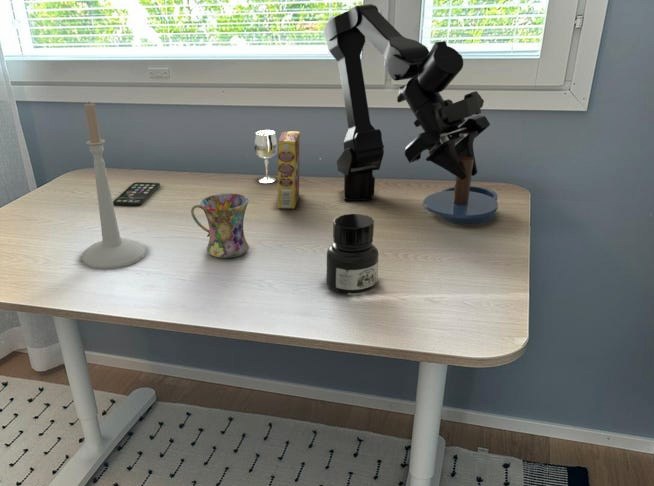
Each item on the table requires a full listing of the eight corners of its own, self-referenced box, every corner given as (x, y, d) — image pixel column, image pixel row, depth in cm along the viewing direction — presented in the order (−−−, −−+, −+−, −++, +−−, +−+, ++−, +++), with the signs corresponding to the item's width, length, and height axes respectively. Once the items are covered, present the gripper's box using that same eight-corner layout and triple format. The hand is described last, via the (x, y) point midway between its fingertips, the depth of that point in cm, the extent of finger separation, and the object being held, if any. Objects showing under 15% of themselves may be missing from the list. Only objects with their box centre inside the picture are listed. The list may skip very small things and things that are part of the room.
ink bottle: (340, 301, 117) (342, 235, 111) (315, 281, 124) (315, 218, 118) (388, 288, 120) (392, 223, 114) (361, 269, 127) (364, 207, 121)
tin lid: (428, 222, 127) (433, 170, 122) (418, 196, 139) (423, 148, 134) (504, 220, 126) (513, 168, 121) (488, 195, 138) (495, 146, 132)
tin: (443, 227, 142) (445, 204, 139) (434, 208, 152) (436, 186, 149) (499, 226, 141) (503, 203, 138) (487, 207, 151) (490, 184, 148)
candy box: (296, 209, 156) (295, 141, 148) (277, 209, 157) (275, 141, 149) (300, 196, 163) (300, 130, 155) (282, 196, 164) (281, 131, 156)
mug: (257, 245, 139) (255, 195, 134) (240, 264, 132) (237, 211, 127) (204, 239, 144) (200, 190, 138) (185, 257, 136) (179, 206, 131)
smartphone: (111, 202, 165) (134, 182, 177) (112, 205, 165) (134, 184, 177) (140, 203, 163) (161, 182, 175) (140, 206, 164) (161, 185, 176)
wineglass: (279, 176, 177) (277, 129, 171) (277, 183, 172) (276, 135, 166) (256, 177, 178) (254, 130, 171) (255, 184, 173) (252, 136, 167)
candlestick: (147, 264, 135) (125, 105, 119) (81, 272, 133) (50, 112, 117) (144, 240, 145) (123, 91, 129) (83, 247, 144) (55, 97, 128)
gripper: (423, 87, 118) (468, 163, 116) (488, 70, 127) (531, 140, 126) (385, 126, 128) (427, 197, 126) (448, 107, 137) (488, 173, 135)
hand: (470, 176), depth 128 cm, fingers closed on tin lid, 3 cm apart
